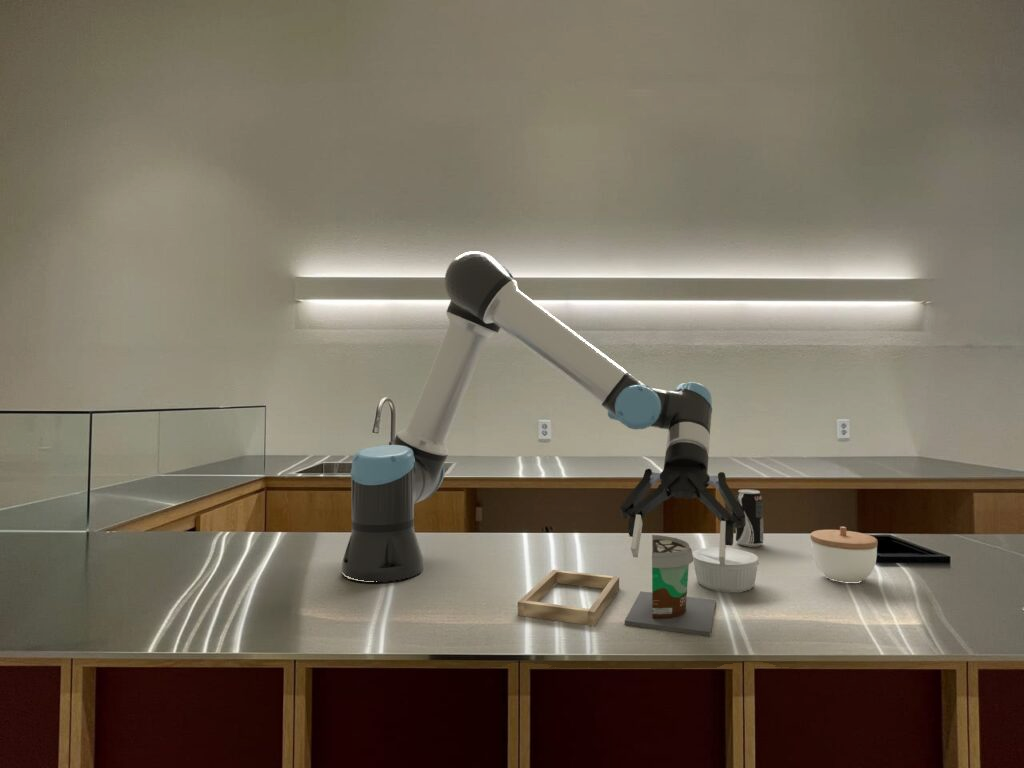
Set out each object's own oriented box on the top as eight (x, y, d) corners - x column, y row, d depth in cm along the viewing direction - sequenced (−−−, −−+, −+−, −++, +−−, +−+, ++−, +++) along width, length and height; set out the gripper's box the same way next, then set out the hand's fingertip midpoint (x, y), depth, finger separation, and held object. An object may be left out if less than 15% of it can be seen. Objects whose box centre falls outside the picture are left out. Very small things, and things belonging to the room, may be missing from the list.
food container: (696, 626, 87) (696, 556, 88) (652, 622, 89) (652, 553, 89) (691, 597, 99) (691, 536, 100) (652, 594, 101) (652, 534, 101)
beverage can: (733, 541, 139) (732, 488, 139) (759, 542, 138) (759, 488, 138) (739, 547, 133) (738, 492, 133) (766, 548, 132) (766, 493, 133)
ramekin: (689, 591, 105) (689, 560, 105) (694, 572, 115) (693, 545, 115) (760, 598, 101) (760, 566, 101) (757, 579, 112) (757, 550, 112)
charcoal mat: (624, 624, 90) (624, 620, 90) (640, 594, 103) (640, 591, 103) (710, 636, 85) (710, 632, 85) (715, 603, 98) (715, 599, 98)
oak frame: (517, 615, 94) (517, 601, 94) (553, 580, 110) (553, 569, 110) (594, 625, 89) (594, 612, 89) (619, 588, 106) (619, 576, 106)
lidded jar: (874, 574, 114) (873, 523, 114) (881, 591, 104) (881, 536, 104) (810, 567, 118) (809, 519, 118) (811, 583, 109) (811, 530, 109)
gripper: (761, 469, 109) (761, 577, 95) (622, 463, 119) (604, 561, 105) (760, 441, 104) (761, 552, 90) (616, 438, 114) (596, 537, 100)
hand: (676, 557), depth 97 cm, fingers open, 13 cm apart
